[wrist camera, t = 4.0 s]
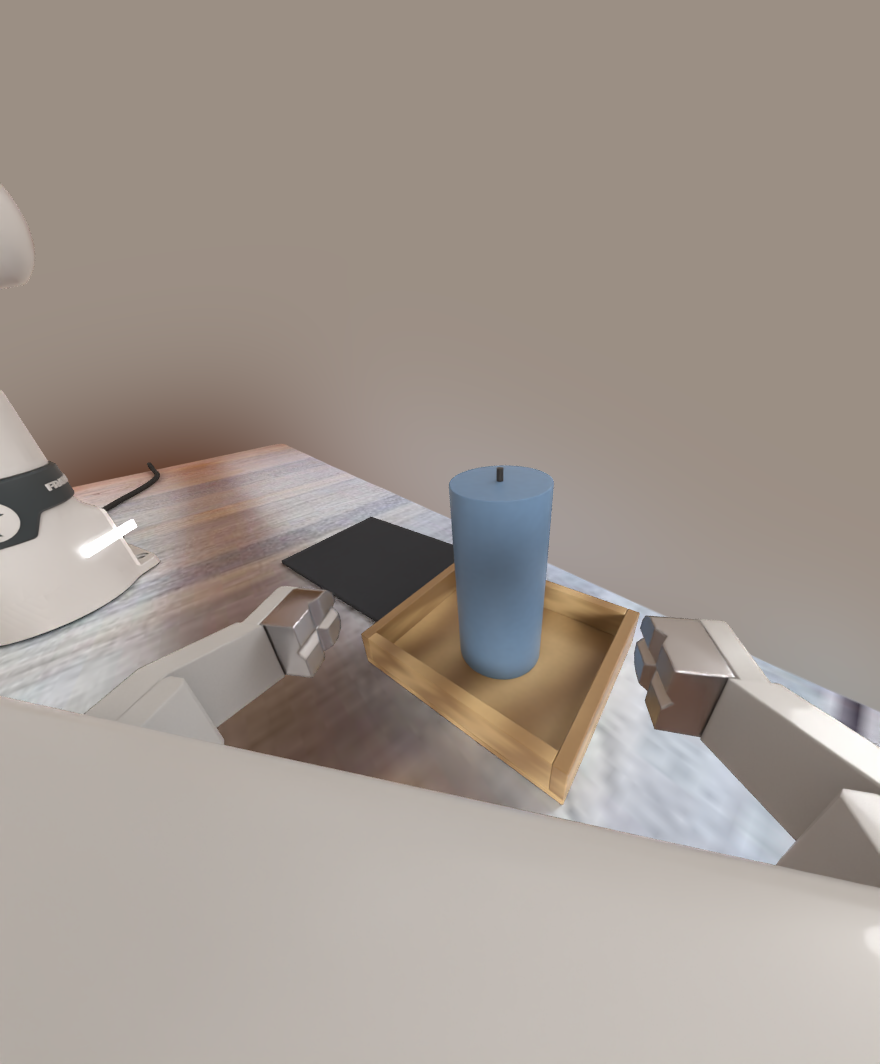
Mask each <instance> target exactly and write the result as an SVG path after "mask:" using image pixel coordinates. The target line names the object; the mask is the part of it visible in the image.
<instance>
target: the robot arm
mask: <svg viewBox="0 0 880 1064" xmlns="http://www.w3.org/2000/svg"><path fill="white" fill-rule="evenodd" d="M34 263H35V251H34V244H33V240H32V236H31V233H30V230H29V228H28V225H27V223H26V221H25V219H24V217H23V215H22V213H21V211H20V210H19V208H18V206H17V205H16V203H15V202H14V200H13V199H12V197H11V196H10V195H9V193H8V192H7V191H6V189H5V188H4V187H3V185H2V184H1V183H0V289H5V288H10V287H15V286H20V285H24V284H26V283H27V282H28V280H29V278H30V277H31V274H32V272H33V268H34ZM147 465H148V467H149V469H150V470H151V471H152V472H153V473H154V474H155V476H154V477H153V478H152V479H151V480H150V481H148V482H147V483H145V484H144V485H142V486H140V487H139V488H137V489H135V490H133V491H132V492H130V493H128V494H126V495H124V496H122V497H120V498H118V499H117V500H115V501H113V502H111V503H110V504H108V505H106V506H104V507H103V508H98V507H97V506H95V505H90V504H87V503H84V502H82V501H80V500H78V499H76V498H75V497H74V496H73V495H74V490H73V489H72V487H71V486H70V484H69V483H68V479H67V477H66V476H65V475H64V473H62V472H61V471H60V469H59V468H58V467H57V465H56V464H55V463H53V462H51V461H47V459H46V458H45V456H44V454H43V453H42V451H41V450H40V448H39V447H38V445H37V444H36V442H35V441H34V439H33V437H32V436H31V434H30V433H29V431H28V430H27V428H26V427H25V425H24V423H23V422H22V421H21V419H20V417H19V416H18V414H17V413H16V411H15V410H14V408H13V407H12V405H11V404H10V402H9V400H8V399H7V397H6V396H5V394H4V393H3V392H2V391H1V390H0V646H2V645H7V644H11V643H15V642H18V641H22V640H25V639H28V638H31V637H34V636H37V635H40V634H43V633H46V632H48V631H51V630H53V629H56V628H58V627H61V626H63V625H66V624H68V623H70V622H72V621H74V620H77V619H79V618H81V617H83V616H85V615H87V614H89V613H91V612H93V611H94V610H96V609H98V608H100V607H102V606H103V605H105V604H107V603H108V602H110V601H111V600H113V599H114V598H116V597H117V596H119V595H120V594H121V593H123V592H124V591H125V590H126V589H128V588H129V587H130V586H131V585H132V584H133V583H134V582H135V581H136V580H137V578H138V577H139V576H141V575H142V574H143V573H145V572H146V571H148V570H149V569H151V568H152V567H154V566H155V565H156V564H158V563H159V562H160V560H159V558H158V557H157V556H156V555H155V554H154V553H151V552H149V551H146V550H143V549H141V548H138V547H136V546H133V545H131V544H128V543H127V542H126V541H125V539H124V536H123V535H125V534H126V533H128V532H129V531H131V530H133V529H134V528H136V527H137V525H136V524H135V522H134V520H129V521H128V522H126V523H124V524H123V525H121V526H119V527H118V528H117V527H116V525H115V524H114V522H113V521H112V519H111V518H110V516H109V515H108V513H107V511H108V510H110V509H112V508H114V507H115V506H117V505H118V504H120V503H122V502H123V501H125V500H127V499H129V498H131V497H133V496H134V495H136V494H138V493H140V492H141V491H143V490H145V489H146V488H148V487H149V486H151V485H152V484H153V483H155V482H156V481H157V480H158V479H159V477H160V474H159V472H158V471H157V470H156V469H155V468H154V466H153V465H152V464H151V463H147ZM334 603H335V599H334V596H333V593H332V592H330V591H328V590H321V589H312V588H302V587H290V586H282V587H279V588H277V589H276V590H275V591H274V592H273V593H272V594H271V595H270V596H269V597H268V598H267V599H266V600H265V601H264V602H263V603H262V604H261V605H260V606H259V607H258V608H257V609H256V610H255V611H254V612H253V613H251V614H250V615H249V616H248V617H247V618H246V619H245V620H244V621H243V622H242V623H235V624H233V625H231V626H228V627H226V628H224V629H222V630H220V631H218V632H216V633H214V634H211V635H209V636H207V637H205V638H203V639H201V640H199V641H196V642H194V643H192V644H190V645H188V646H186V647H184V648H181V649H179V650H177V651H175V652H173V653H171V654H169V655H166V656H164V657H162V658H160V659H158V660H156V661H154V662H152V663H149V664H147V665H145V666H143V667H141V668H139V669H137V670H136V671H135V672H134V673H132V674H131V675H130V676H129V677H128V678H126V679H125V680H124V681H123V682H122V683H120V684H119V685H118V686H117V687H116V688H114V689H113V690H112V691H111V692H109V693H108V694H107V695H106V696H105V697H103V698H102V699H101V700H100V701H99V702H97V703H96V704H95V705H94V706H93V707H91V708H90V709H89V710H88V711H87V712H85V713H84V714H80V713H75V712H71V711H66V710H61V709H57V708H52V707H48V706H43V705H39V704H34V703H30V702H25V701H21V700H16V699H11V698H7V697H2V696H0V1064H880V747H878V746H876V745H875V744H873V743H872V742H870V741H869V740H867V739H866V738H864V737H862V736H861V735H859V734H858V733H856V732H855V731H853V730H851V729H850V728H848V727H847V726H845V725H844V724H842V723H840V722H839V721H837V720H836V719H834V718H833V717H831V716H830V715H828V714H826V713H825V712H823V711H822V710H820V709H819V708H817V707H815V706H814V705H812V704H811V703H809V702H808V701H806V700H805V699H803V698H801V697H800V696H798V695H797V694H795V693H794V692H792V691H790V690H789V689H787V688H786V687H784V686H783V685H781V684H776V683H771V682H770V681H769V679H768V678H767V677H766V675H765V674H764V673H763V671H762V670H761V669H760V667H759V666H758V664H757V663H756V662H755V660H754V659H753V658H752V656H751V655H750V654H749V652H748V651H747V650H746V648H745V647H744V646H743V644H742V643H741V641H740V640H739V639H738V637H737V636H736V635H735V633H734V632H733V631H732V629H731V628H730V627H729V626H728V624H727V623H725V622H724V621H721V620H704V619H695V620H694V619H684V618H670V617H657V616H645V617H644V619H643V620H642V624H641V627H640V629H641V632H642V634H643V637H644V638H642V639H641V640H639V641H638V642H637V643H636V647H635V652H634V665H635V671H636V675H637V678H638V682H639V684H640V685H641V686H643V687H644V688H645V689H646V690H647V691H648V692H647V695H646V699H645V703H646V706H647V708H648V711H649V714H650V717H651V720H652V723H653V726H654V729H657V730H662V731H668V732H674V733H680V734H685V735H691V736H697V737H701V738H700V740H701V741H702V742H703V743H704V744H705V745H706V746H707V747H708V748H709V749H710V750H711V751H712V752H713V753H714V754H715V756H716V757H717V758H718V759H719V760H720V761H721V762H722V763H723V764H724V765H725V766H726V767H727V768H728V769H729V770H730V771H731V773H732V774H733V775H734V776H735V777H736V778H737V779H738V780H739V781H740V782H741V783H742V784H743V785H744V786H745V787H746V788H747V789H748V791H749V792H750V793H751V794H752V795H753V796H754V797H755V798H756V799H757V800H758V801H759V802H760V803H761V804H762V805H763V806H764V808H765V809H766V810H767V811H768V812H769V813H770V814H771V815H772V816H773V817H774V818H775V819H776V820H777V821H778V822H779V823H780V825H781V826H782V827H783V828H784V829H785V830H786V831H787V832H788V833H789V834H790V835H791V836H792V837H793V838H794V839H795V840H796V842H795V843H794V844H793V845H792V846H791V847H790V848H789V849H788V851H787V852H786V853H785V854H784V855H783V856H782V857H781V858H780V860H779V861H778V863H777V864H776V865H772V864H768V863H763V862H758V861H754V860H749V859H745V858H740V857H735V856H731V855H726V854H722V853H717V852H712V851H708V850H703V849H699V848H694V847H689V846H685V845H680V844H676V843H671V842H666V841H662V840H657V839H653V838H648V837H644V836H639V835H634V834H630V833H625V832H621V831H616V830H611V829H607V828H602V827H598V826H593V825H589V824H584V823H580V822H575V821H570V820H566V819H561V818H557V817H552V816H548V815H543V814H538V813H534V812H529V811H525V810H520V809H516V808H511V807H506V806H502V805H497V804H493V803H488V802H484V801H479V800H474V799H470V798H465V797H461V796H456V795H452V794H447V793H442V792H438V791H433V790H429V789H424V788H419V787H415V786H410V785H406V784H401V783H396V782H392V781H387V780H383V779H378V778H373V777H369V776H364V775H360V774H355V773H350V772H346V771H341V770H337V769H332V768H327V767H323V766H318V765H314V764H309V763H305V762H300V761H295V760H291V759H286V758H282V757H277V756H272V755H268V754H263V753H259V752H254V751H249V750H245V749H240V748H236V747H231V746H226V745H224V739H223V737H222V736H221V734H220V733H219V731H218V730H217V727H218V726H219V725H221V724H222V723H223V722H225V721H226V720H227V719H229V718H230V717H231V716H233V715H234V714H235V713H237V712H238V711H239V710H241V709H242V708H243V707H245V706H246V705H247V704H249V703H250V702H251V701H253V700H254V699H255V698H257V697H258V696H259V695H261V694H262V693H263V692H265V691H266V690H267V689H269V688H270V687H271V686H273V685H274V684H275V683H277V682H278V681H279V680H281V679H282V678H283V677H285V675H293V676H301V677H310V678H313V676H314V675H315V673H316V672H317V670H318V668H319V667H320V665H321V664H322V662H323V661H324V659H325V653H324V651H326V650H327V649H329V648H330V647H332V646H333V645H334V644H335V642H336V640H337V639H338V636H339V633H340V629H341V620H340V616H339V613H338V612H337V611H336V610H335V609H334V608H333V605H334Z"/></svg>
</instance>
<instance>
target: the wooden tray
mask: <svg viewBox="0 0 880 1064" xmlns="http://www.w3.org/2000/svg"><path fill="white" fill-rule="evenodd" d="M638 618H639V612H636V611H633V610H630V609H628V610H627V608H624V607H621V606H618V605H615V604H613V603H610V602H607V601H604V600H601V599H598V598H595V597H593V596H590V595H587V594H584V593H581V592H578V591H575V590H573V589H570V588H567V587H564V586H561V585H558V584H555V583H553V582H550V581H547V580H546V583H545V595H544V607H543V619H542V631H541V642H540V654H539V658H538V661H537V663H536V665H535V666H534V667H533V668H532V669H531V670H530V671H529V672H528V673H526V674H524V675H522V676H520V677H517V678H513V679H505V680H503V679H493V678H489V677H486V676H483V675H481V674H479V673H477V672H476V671H474V670H473V669H472V668H471V667H470V666H469V665H468V664H467V663H466V661H465V660H464V658H463V656H462V653H461V647H460V633H459V619H458V605H457V591H456V577H455V563H453V564H452V565H451V566H449V567H448V568H447V569H445V570H444V571H443V572H441V573H440V574H439V575H437V576H436V577H435V578H434V579H432V580H431V581H430V582H428V583H427V584H426V585H424V586H423V587H422V588H421V589H419V590H418V591H417V592H415V593H414V594H413V595H411V596H410V597H409V598H407V599H406V600H405V601H404V602H402V603H401V604H400V605H398V606H397V607H396V608H394V609H393V610H392V611H391V612H389V613H388V614H387V615H385V616H384V617H383V618H381V619H380V620H379V621H378V622H376V623H375V624H374V625H372V626H371V627H370V628H368V629H367V630H366V631H364V632H363V633H362V634H361V635H362V639H363V643H364V647H365V651H366V654H367V658H368V661H369V662H371V663H372V664H373V665H375V666H376V667H377V668H379V669H380V670H381V671H383V672H384V673H385V674H387V675H388V676H389V677H391V678H392V679H393V680H395V681H396V682H397V683H399V684H400V685H401V686H403V687H404V688H405V689H407V690H408V691H409V692H411V693H412V694H414V695H415V696H416V697H418V698H419V699H420V700H422V701H423V702H424V703H426V704H427V705H428V706H430V707H431V708H432V709H434V710H435V711H436V712H438V713H439V714H440V715H442V716H443V717H444V718H446V719H447V720H448V721H450V722H451V723H452V724H454V725H455V726H457V727H458V728H459V729H461V730H462V731H463V732H465V733H466V734H467V735H469V736H470V737H471V738H473V739H474V740H475V741H477V742H478V743H479V744H481V745H482V746H483V747H485V748H486V749H487V750H489V751H490V752H491V753H493V754H494V755H495V756H497V757H498V758H500V759H501V760H502V761H504V762H505V763H506V764H508V765H509V766H510V767H512V768H513V769H514V770H516V771H517V772H518V773H520V774H521V775H522V776H524V777H525V778H526V779H528V780H529V781H530V782H532V783H533V784H534V785H536V786H537V787H539V788H540V789H541V790H543V791H544V792H545V793H547V794H548V795H549V796H551V797H552V798H553V799H555V800H556V801H557V802H559V803H560V804H561V805H563V804H564V801H565V799H566V796H567V794H568V792H569V789H570V787H571V785H572V782H573V780H574V778H575V775H576V773H577V771H578V768H579V766H580V763H581V761H582V759H583V756H584V754H585V752H586V749H587V747H588V745H589V742H590V740H591V738H592V735H593V733H594V730H595V728H596V726H597V723H598V721H599V719H600V716H601V714H602V712H603V709H604V707H605V705H606V702H607V700H608V698H609V695H610V693H611V690H612V688H613V686H614V683H615V681H616V679H617V676H618V674H619V672H620V669H621V667H622V665H623V662H624V660H625V657H626V655H627V653H628V650H629V648H630V646H631V643H632V641H633V637H634V633H635V629H636V626H637V622H638Z"/></svg>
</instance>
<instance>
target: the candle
mask: <svg viewBox="0 0 880 1064" xmlns="http://www.w3.org/2000/svg"><path fill="white" fill-rule="evenodd" d="M553 486H554V481H553V479H552V478H551V477H550V476H549V475H548V474H546V473H544V472H542V471H540V470H536V469H532V468H528V467H521V466H488V467H481V468H476V469H471V470H468V471H465V472H462V473H460V474H458V475H456V476H455V477H453V478H452V479H451V481H450V483H449V494H450V507H451V521H452V535H453V549H454V563H455V577H456V591H457V605H458V619H459V633H460V647H461V653H462V656H463V658H464V660H465V661H466V663H467V664H468V665H469V666H470V667H471V668H472V669H473V670H474V671H476V672H477V673H479V674H481V675H483V676H486V677H489V678H493V679H503V680H505V679H513V678H517V677H520V676H522V675H524V674H526V673H528V672H529V671H530V670H531V669H532V668H533V667H534V666H535V665H536V663H537V661H538V658H539V654H540V642H541V631H542V619H543V607H544V595H545V583H546V571H547V558H548V547H549V535H550V523H551V511H552V499H553Z"/></svg>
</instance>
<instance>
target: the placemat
mask: <svg viewBox="0 0 880 1064" xmlns="http://www.w3.org/2000/svg"><path fill="white" fill-rule="evenodd" d="M282 563H283V564H284V565H286V566H288V567H289V568H291V569H292V570H294V571H296V572H297V573H299V574H301V575H302V576H304V577H305V578H307V579H309V580H310V581H312V582H313V583H315V584H317V585H318V586H320V587H321V588H323V589H325V590H328V591H330V592H332V593H333V595H334V596H336V597H338V598H339V599H341V600H342V601H344V602H346V603H347V604H349V605H350V606H352V607H354V608H355V609H357V610H358V611H360V612H362V613H363V614H365V615H366V616H368V617H370V618H371V619H373V620H375V621H376V622H378V621H379V620H380V619H381V618H383V617H384V616H385V615H387V614H388V613H389V612H391V611H392V610H393V609H394V608H396V607H397V606H398V605H400V604H401V603H402V602H404V601H405V600H406V599H407V598H409V597H410V596H411V595H413V594H414V593H415V592H417V591H418V590H419V589H421V588H422V587H423V586H424V585H426V584H427V583H428V582H430V581H431V580H432V579H434V578H435V577H436V576H437V575H439V574H440V573H441V572H443V571H444V570H445V569H447V568H448V567H449V566H451V565H452V564H453V563H454V549H453V545H452V544H449V543H446V542H443V541H440V540H437V539H435V538H432V537H429V536H426V535H423V534H420V533H417V532H414V531H411V530H408V529H405V528H402V527H400V526H397V525H394V524H391V523H388V522H385V521H382V520H379V519H376V518H373V517H370V518H368V519H366V520H364V521H362V522H360V523H358V524H356V525H353V526H351V527H349V528H347V529H345V530H343V531H341V532H339V533H337V534H335V535H333V536H331V537H329V538H327V539H325V540H323V541H321V542H319V543H317V544H315V545H313V546H311V547H309V548H307V549H305V550H303V551H301V552H298V553H296V554H294V555H292V556H290V557H288V558H286V559H284V560H282Z"/></svg>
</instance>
